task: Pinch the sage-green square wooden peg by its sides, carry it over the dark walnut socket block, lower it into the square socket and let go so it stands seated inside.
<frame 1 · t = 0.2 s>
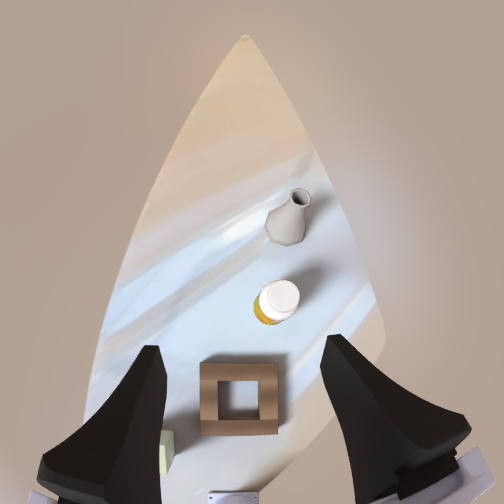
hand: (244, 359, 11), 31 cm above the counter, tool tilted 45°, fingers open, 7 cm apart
peg: (159, 441, 34), on the counter
supplement bottle: (269, 308, 44), on the counter
socket: (237, 398, 38), on the counter
flask: (284, 227, 49), on the counter
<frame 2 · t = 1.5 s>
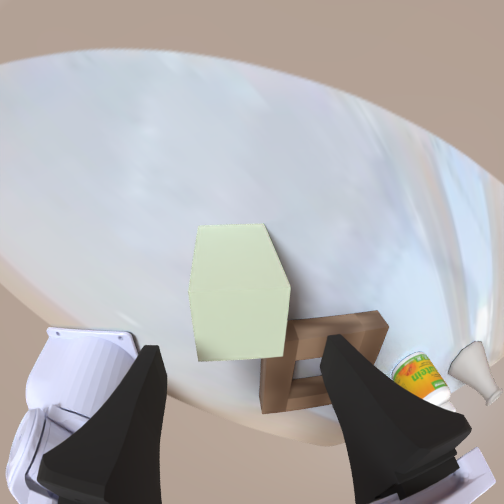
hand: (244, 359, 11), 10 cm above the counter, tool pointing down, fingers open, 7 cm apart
peg: (231, 254, 20), on the counter
supplement bottle: (407, 364, 30), on the counter
socket: (315, 358, 26), on the counter
flask: (463, 356, 33), on the counter
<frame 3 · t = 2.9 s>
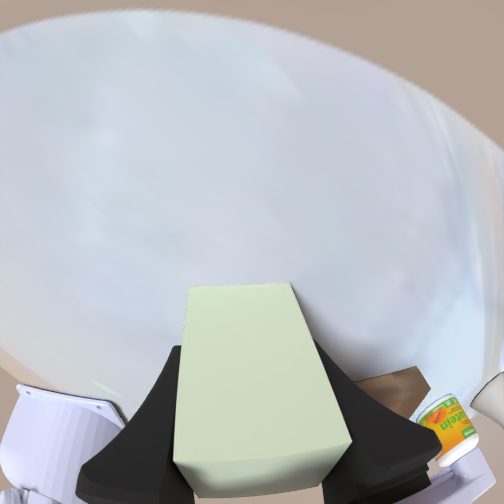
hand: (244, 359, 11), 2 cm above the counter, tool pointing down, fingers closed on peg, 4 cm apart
peg: (239, 323, 14), on the counter, touching gripper
supplement bottle: (434, 407, 24), on the counter
socket: (338, 420, 20), on the counter
flask: (487, 387, 26), on the counter
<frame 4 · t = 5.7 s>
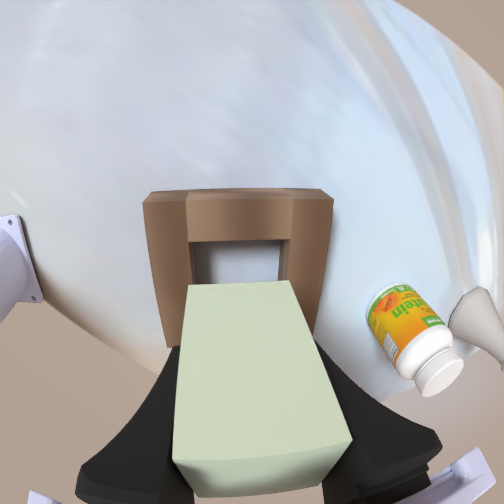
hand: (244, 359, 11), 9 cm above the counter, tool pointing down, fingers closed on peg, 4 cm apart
peg: (239, 321, 14), point 7 cm above the counter, touching gripper
supplement bottle: (388, 303, 24), on the counter
socket: (237, 265, 20), on the counter
flask: (466, 308, 27), on the counter
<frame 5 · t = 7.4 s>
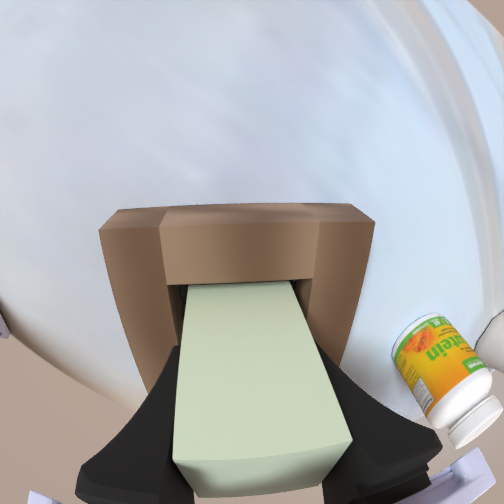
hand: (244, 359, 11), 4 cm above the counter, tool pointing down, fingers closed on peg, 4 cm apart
peg: (239, 321, 14), point 2 cm above the counter, touching gripper
supplement bottle: (417, 336, 19), on the counter
socket: (237, 304, 15), on the counter
flask: (492, 331, 22), on the counter
when the fingers open (4 cm above the counter, at t = 8.7 s): peg drops 1 cm, resting in socket.
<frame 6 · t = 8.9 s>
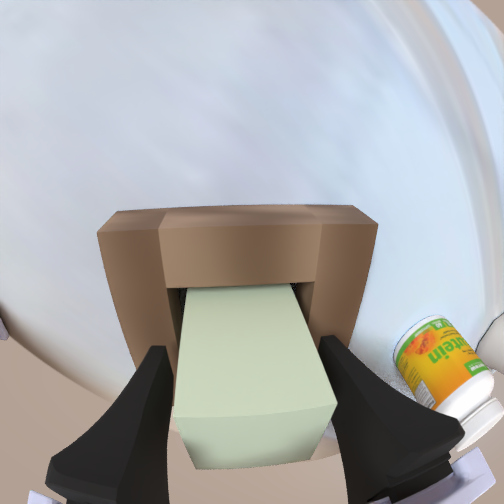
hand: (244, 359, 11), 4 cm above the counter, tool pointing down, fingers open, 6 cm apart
peg: (237, 305, 15), resting in socket
supplement bottle: (419, 338, 19), on the counter
socket: (238, 307, 15), on the counter
flask: (494, 332, 21), on the counter
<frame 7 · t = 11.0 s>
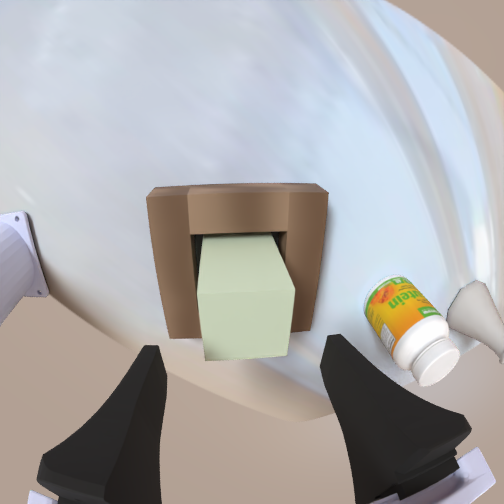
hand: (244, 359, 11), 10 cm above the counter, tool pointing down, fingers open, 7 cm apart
peg: (236, 256, 21), resting in socket
supplement bottle: (385, 296, 25), on the counter
socket: (237, 257, 21), on the counter
flask: (464, 302, 28), on the counter
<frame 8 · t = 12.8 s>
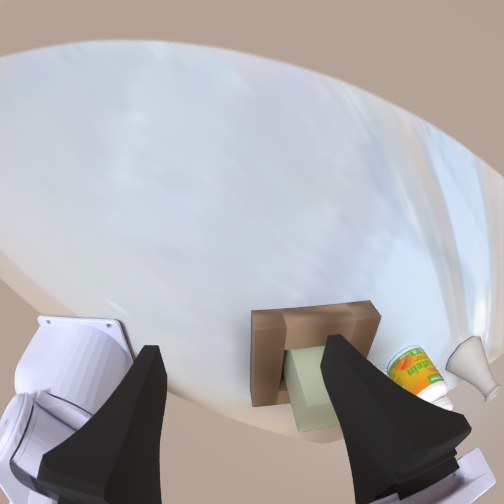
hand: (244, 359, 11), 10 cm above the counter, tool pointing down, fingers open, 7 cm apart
peg: (306, 349, 26), resting in socket
supplement bottle: (403, 358, 30), on the counter
socket: (306, 350, 26), on the counter
flask: (461, 351, 33), on the counter
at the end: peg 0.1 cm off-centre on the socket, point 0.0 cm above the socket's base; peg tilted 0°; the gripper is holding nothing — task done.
